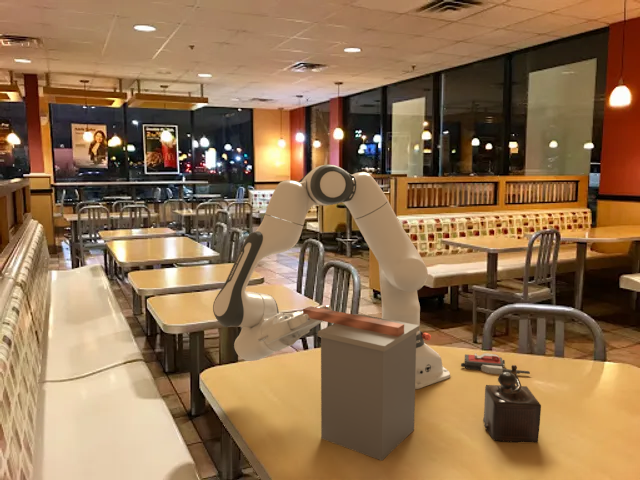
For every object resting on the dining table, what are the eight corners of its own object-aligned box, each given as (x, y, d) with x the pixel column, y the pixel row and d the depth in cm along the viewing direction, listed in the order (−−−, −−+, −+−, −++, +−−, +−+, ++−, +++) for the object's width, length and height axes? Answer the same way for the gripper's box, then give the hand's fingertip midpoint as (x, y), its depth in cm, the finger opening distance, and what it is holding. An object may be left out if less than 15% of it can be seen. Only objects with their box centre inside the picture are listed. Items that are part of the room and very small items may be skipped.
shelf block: (318, 438, 122) (317, 331, 118) (356, 410, 135) (357, 313, 132) (382, 462, 112) (384, 346, 108) (416, 429, 126) (419, 325, 122)
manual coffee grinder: (479, 419, 131) (482, 350, 128) (525, 420, 130) (529, 351, 127) (496, 453, 115) (500, 376, 113) (548, 455, 115) (552, 377, 112)
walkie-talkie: (460, 372, 161) (530, 378, 156) (461, 358, 160) (530, 364, 155) (460, 361, 170) (526, 367, 164) (461, 348, 169) (527, 354, 164)
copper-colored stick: (303, 316, 129) (303, 309, 129) (310, 314, 132) (310, 306, 131) (397, 336, 114) (397, 327, 114) (404, 332, 117) (404, 324, 116)
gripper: (249, 330, 128) (286, 310, 120) (300, 310, 145) (336, 292, 137) (259, 354, 127) (297, 335, 119) (309, 332, 144) (346, 314, 136)
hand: (318, 312), depth 128 cm, fingers open, 8 cm apart
